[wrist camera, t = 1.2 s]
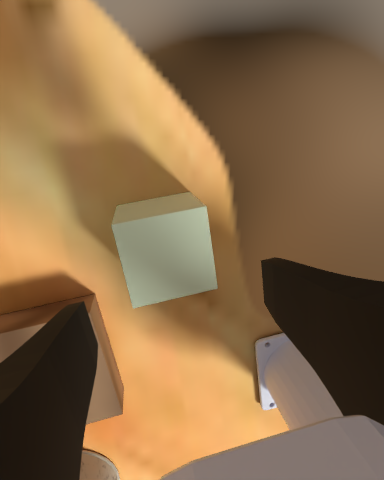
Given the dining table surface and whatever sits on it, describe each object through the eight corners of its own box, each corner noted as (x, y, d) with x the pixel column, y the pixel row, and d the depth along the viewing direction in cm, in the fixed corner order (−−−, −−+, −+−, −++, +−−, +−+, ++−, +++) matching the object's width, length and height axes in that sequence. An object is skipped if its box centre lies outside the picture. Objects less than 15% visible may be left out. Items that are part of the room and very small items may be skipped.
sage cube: (189, 191, 20) (206, 206, 15) (199, 257, 21) (217, 288, 17) (116, 205, 19) (111, 224, 14) (133, 271, 21) (133, 308, 16)
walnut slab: (94, 293, 21) (89, 312, 18) (123, 387, 24) (122, 414, 21) (-39, 323, 20) (-63, 348, 17) (9, 418, 23) (-5, 449, 20)
